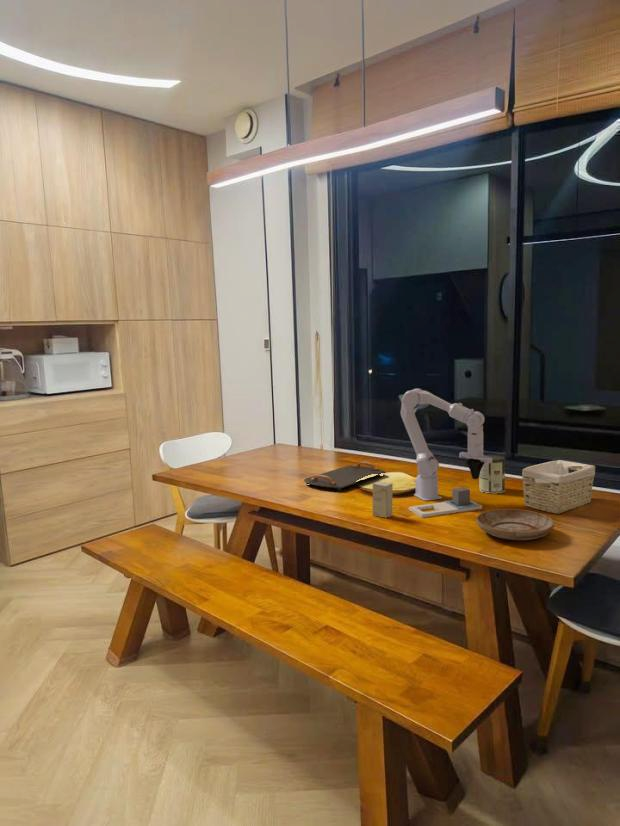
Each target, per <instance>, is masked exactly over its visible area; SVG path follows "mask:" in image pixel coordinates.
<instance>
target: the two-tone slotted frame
mask: <svg viewBox="0 0 620 826" xmlns="http://www.w3.org/2000/svg"><path fill="white" fill-rule="evenodd" d="M432 509H434V510H432ZM477 509H478V510H482V509H483V505H481V504H479V503H477V502H475V501H473V500H471V499H470V505H465V506H456V505H454V504H452V499H450V500H444V501H441V502H435V503H428V504H427V503H425V504H420V505H413V506H408V511H410V512H411V511H412V513H413V514H415V515H417V516H418V517H419V518H422V519H423V518H428V517H429V518H430V517H437V516H443V514H444V515H449V514H450V513H451V514H457V512H458V513H463V512H464V513H465V512H470V511H471V512H472V511H476V510H477ZM423 510H428V511H423ZM429 510H430V511H429ZM478 510H477V511H478ZM451 514H450V515H451Z"/></svg>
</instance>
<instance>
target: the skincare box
mask: <svg viewBox="0 0 620 826" xmlns="http://www.w3.org/2000/svg"><path fill="white" fill-rule="evenodd" d="M372 516H375V517H378V516H379V518H382V517H385V518H384V519H388V518H390V517H392V516H393V483H390V482H386V481H382V480H381V481H380V480H379V481H376V482H373V483H372ZM387 517H388V518H387Z"/></svg>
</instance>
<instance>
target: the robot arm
mask: <svg viewBox="0 0 620 826" xmlns="http://www.w3.org/2000/svg"><path fill="white" fill-rule="evenodd" d="M421 405H431V406H433V407H436V408H439V409H440V410H443V411H444V412H445V411H446V412H447V413H448V415H449V417H451V418H452V419H454V420H457V421H459V422H461V423H462V424H466V427H467V452H466V451H461V452H459V453H458V454H459V456H458V457H459V458H460V459H461V458H463V459H468V460H465V462H466V465H467V467H468V468H469V471H470V474H471V479H473V480H478V479H479V474H480V471H481V469H482V467H483V465H484V463H485V462H486V463H492V458H491V457H488V456H485V455H486V454H484V425H483V424H484V423H485V415H484V414H483V413H481V412H480V411H479V410H478V411H477V410H476V411H475V410H474V408H471V409H470V408H468V407H467V406H464V405H463V403H461V402H458V403H457V402H455V403H450V402H448V401H446V400H445V399H442V398H441V397H439V396H437V395H434V394H433V393H431V392H429V391H427V390H423V389H421V388H414V389H411V390H407V391H406V392H405V393H404V394H403V396H402V397H401V407H400V416H401V419H402V422H403V425H404V427H405V430H406V432H407V435H408V437H409V439H410V442H411V444H412V447H413V449H414V451H415V454H416V460H415V461H416V465H417V473H418V475H416V477H415V493H414V494H413V496H415V497H416V498H418V499H420V500H422V501H424V502H428V501H434V500H442V499H443V496H440V495H439V483H438V482H439V480H438V479H439V476H438V473H437V471H438V470H439V468H440V463H439V461H438V460H437V459H436V457H435V456H434V454H433V453H432V452H431V451H430V449H429V447H428V443H427V441H426V439H425V437H424V434H423V432H422V430H421V427H420V424H419V421H418V419H417V417H416V411H417V410H418V408H419V406H421Z"/></svg>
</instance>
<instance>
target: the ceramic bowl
mask: <svg viewBox="0 0 620 826" xmlns="http://www.w3.org/2000/svg"><path fill="white" fill-rule="evenodd" d="M475 518H476V519H475V521H476V524H477V525H478V527H479V528H480V529H481V530H482V531H483V532H485V533H486V534H488V535H491V536H493V537H496V538H499V539H503V540H507V541H533V540H537V539H540V538H544V537H545V536H547V535H549V534H550V533H551V531H552V530H553V528H554V525H555V522H554V519H553V518H552V517H550V516H548V515H547V514H543V513H540V512H536V511H532V510H526V509H516V508H515V509H514V508H500V509H499V508H498V509H492V510H486V511H483V512H481V513H479V514H478V515H477V517H475Z"/></svg>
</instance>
